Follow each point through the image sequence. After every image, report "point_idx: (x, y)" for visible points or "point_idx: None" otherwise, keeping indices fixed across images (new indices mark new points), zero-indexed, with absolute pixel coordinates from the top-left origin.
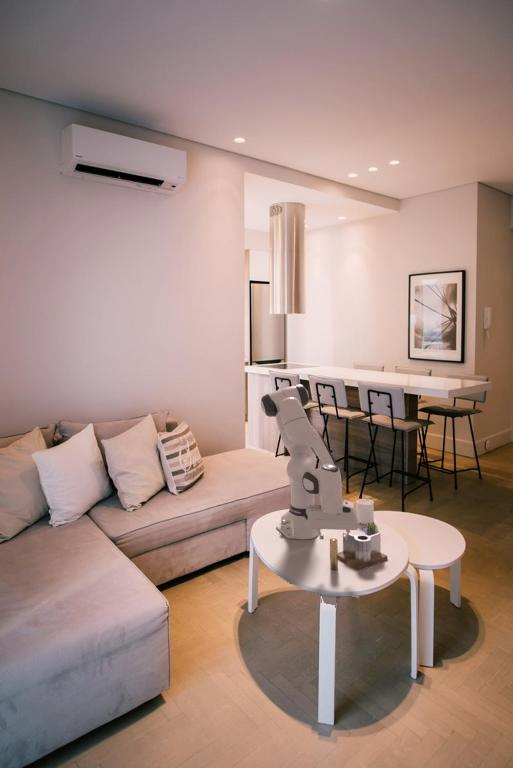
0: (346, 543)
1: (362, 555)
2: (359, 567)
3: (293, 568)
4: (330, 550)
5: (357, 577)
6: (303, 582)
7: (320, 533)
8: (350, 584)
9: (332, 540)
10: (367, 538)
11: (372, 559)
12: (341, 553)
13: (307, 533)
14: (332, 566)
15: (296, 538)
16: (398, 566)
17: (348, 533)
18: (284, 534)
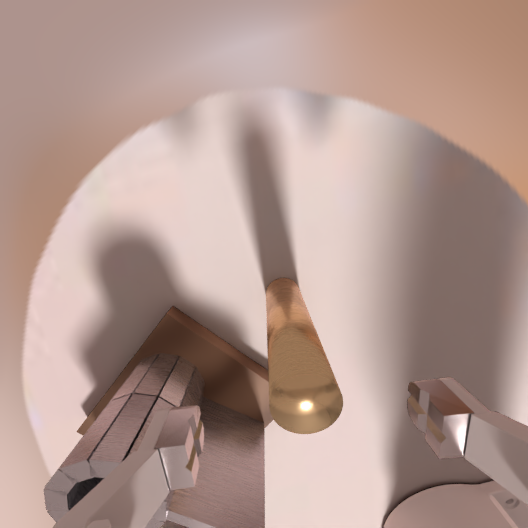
0: (243, 462)
1: (144, 378)
2: (167, 312)
3: (470, 247)
4: (314, 330)
5: (167, 244)
6: (411, 121)
7: (493, 445)
8: (183, 170)
9: (314, 392)
10: None
11: None
12: (268, 407)
13: (440, 522)
14: (289, 284)
15: (471, 486)
16: (31, 377)
17: (90, 498)
18: (525, 503)
